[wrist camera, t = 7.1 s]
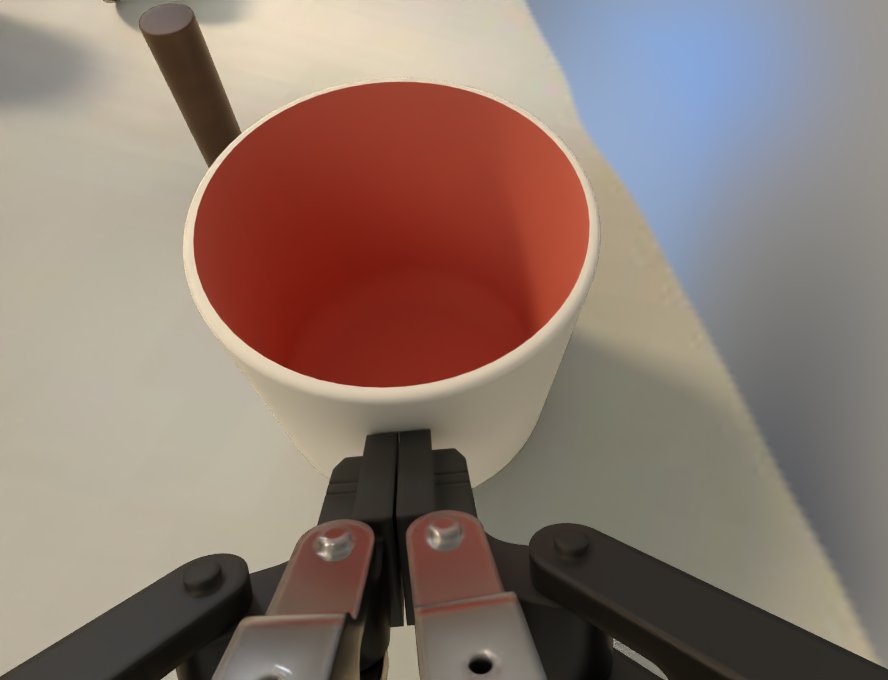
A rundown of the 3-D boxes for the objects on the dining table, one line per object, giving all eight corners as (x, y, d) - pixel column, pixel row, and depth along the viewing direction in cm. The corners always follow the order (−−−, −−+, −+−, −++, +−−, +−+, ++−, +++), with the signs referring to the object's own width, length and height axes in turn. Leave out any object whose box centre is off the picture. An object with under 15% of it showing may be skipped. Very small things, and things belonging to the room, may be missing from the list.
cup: (243, 468, 21) (93, 334, 12) (340, 257, 25) (284, 49, 17) (510, 546, 19) (562, 459, 11) (561, 308, 24) (626, 110, 15)
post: (244, 197, 27) (174, 39, 20) (208, 187, 27) (127, 28, 20) (264, 169, 28) (204, 8, 21) (229, 159, 28) (158, -2, 21)
